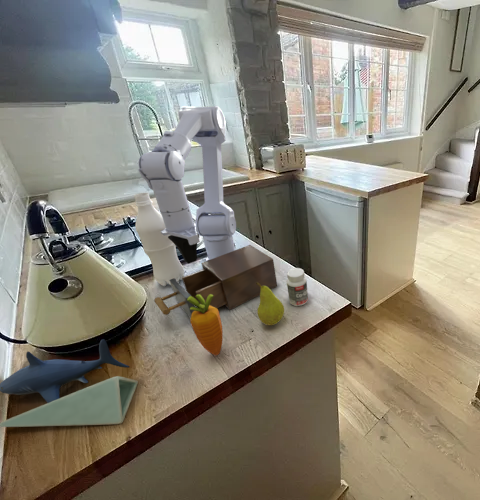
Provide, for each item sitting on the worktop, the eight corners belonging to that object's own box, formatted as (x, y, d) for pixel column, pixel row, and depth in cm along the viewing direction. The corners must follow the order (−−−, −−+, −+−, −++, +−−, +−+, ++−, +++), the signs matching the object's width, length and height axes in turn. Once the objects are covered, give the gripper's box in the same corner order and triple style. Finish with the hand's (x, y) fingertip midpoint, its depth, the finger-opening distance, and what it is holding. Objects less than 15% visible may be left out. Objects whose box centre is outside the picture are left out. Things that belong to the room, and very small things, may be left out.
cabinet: (229, 310, 71) (221, 280, 67) (209, 290, 78) (201, 262, 74) (277, 286, 80) (273, 258, 76) (255, 270, 87) (250, 244, 83)
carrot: (234, 346, 61) (218, 287, 54) (223, 365, 57) (203, 304, 50) (211, 344, 62) (192, 285, 54) (198, 364, 57) (176, 302, 50)
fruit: (289, 315, 69) (283, 272, 64) (279, 332, 64) (272, 288, 59) (266, 312, 70) (258, 269, 65) (255, 329, 65) (245, 285, 60)
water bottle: (174, 289, 79) (141, 200, 67) (151, 286, 80) (115, 198, 68) (192, 275, 85) (165, 190, 73) (170, 272, 86) (140, 189, 74)
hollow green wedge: (-5, 376, 46) (129, 357, 51) (13, 402, 49) (138, 382, 54) (-49, 425, 39) (111, 397, 44) (-25, 453, 42) (122, 424, 47)
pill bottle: (298, 309, 71) (295, 280, 67) (285, 301, 74) (281, 273, 70) (312, 299, 75) (309, 271, 71) (299, 292, 77) (296, 265, 73)
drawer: (172, 333, 63) (162, 308, 60) (157, 311, 70) (147, 288, 67) (245, 297, 74) (240, 275, 71) (226, 281, 80) (220, 260, 77)
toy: (44, 378, 58) (1, 344, 53) (147, 348, 57) (113, 311, 52) (0, 427, 50) (-57, 393, 45) (119, 393, 49) (75, 355, 44)
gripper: (144, 205, 67) (163, 257, 73) (166, 222, 58) (185, 279, 65) (177, 197, 71) (192, 247, 78) (202, 212, 62) (216, 267, 69)
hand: (191, 261), depth 72 cm, fingers closed
